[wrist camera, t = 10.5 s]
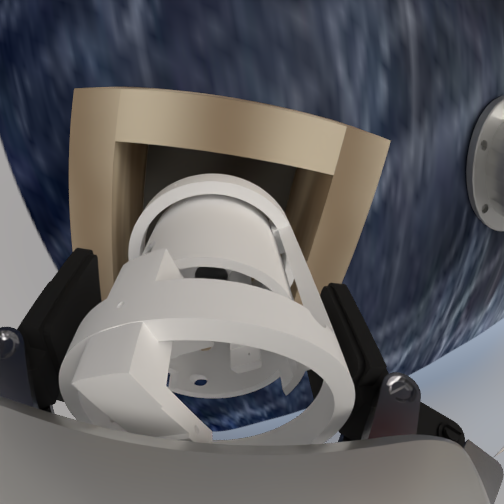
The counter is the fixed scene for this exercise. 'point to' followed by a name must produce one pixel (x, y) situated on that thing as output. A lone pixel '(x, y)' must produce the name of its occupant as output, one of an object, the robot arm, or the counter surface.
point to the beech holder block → (216, 169)
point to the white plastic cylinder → (207, 321)
